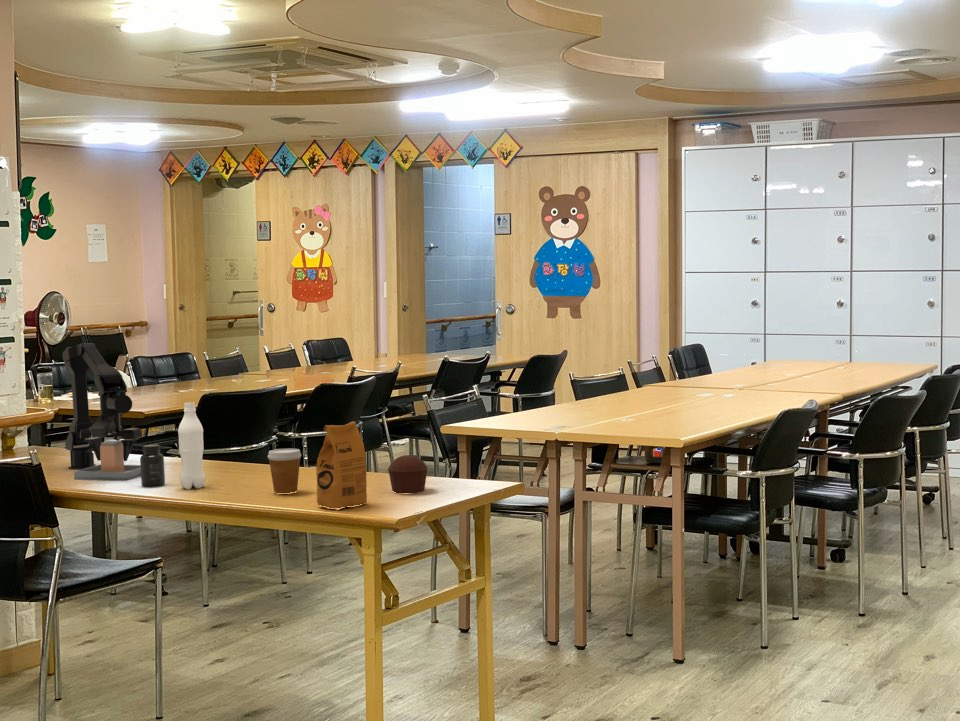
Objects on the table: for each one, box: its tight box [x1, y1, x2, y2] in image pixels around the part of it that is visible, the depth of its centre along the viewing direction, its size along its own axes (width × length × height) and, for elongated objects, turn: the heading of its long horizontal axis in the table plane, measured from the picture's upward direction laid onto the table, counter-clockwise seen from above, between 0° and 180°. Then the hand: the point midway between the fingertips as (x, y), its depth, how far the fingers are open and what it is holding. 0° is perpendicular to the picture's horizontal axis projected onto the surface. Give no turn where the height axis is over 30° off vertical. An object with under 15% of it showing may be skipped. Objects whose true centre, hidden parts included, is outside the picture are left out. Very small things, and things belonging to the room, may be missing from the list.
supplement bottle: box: [139, 444, 166, 488], centre depth 350 cm, size 7×7×12 cm
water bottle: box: [177, 401, 206, 490], centre depth 344 cm, size 7×7×25 cm
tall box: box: [100, 440, 125, 472], centre depth 369 cm, size 5×5×10 cm
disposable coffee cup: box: [267, 448, 302, 493], centre depth 333 cm, size 10×10×12 cm
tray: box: [73, 463, 141, 481], centre depth 369 cm, size 18×14×2 cm
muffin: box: [387, 454, 429, 494], centre depth 331 cm, size 12×11×10 cm
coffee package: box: [315, 421, 368, 508], centre depth 311 cm, size 10×12×22 cm
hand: (112, 460), depth 369 cm, fingers open, 9 cm apart
